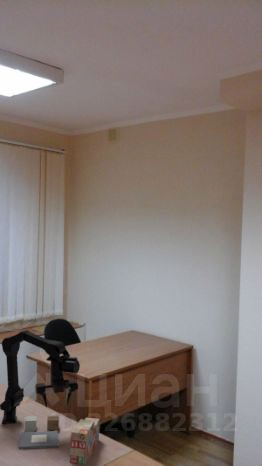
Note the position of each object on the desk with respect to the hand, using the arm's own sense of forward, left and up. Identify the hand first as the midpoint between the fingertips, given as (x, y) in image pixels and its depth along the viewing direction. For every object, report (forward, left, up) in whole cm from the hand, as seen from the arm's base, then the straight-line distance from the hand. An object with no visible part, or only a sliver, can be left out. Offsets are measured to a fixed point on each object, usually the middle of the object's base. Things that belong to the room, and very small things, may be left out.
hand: (56, 405), depth 194 cm
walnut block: (-4, -1, -12) cm, 12 cm away
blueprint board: (+8, -7, -12) cm, 16 cm away
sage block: (-4, -11, -12) cm, 17 cm away
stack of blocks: (+18, +12, -12) cm, 25 cm away
